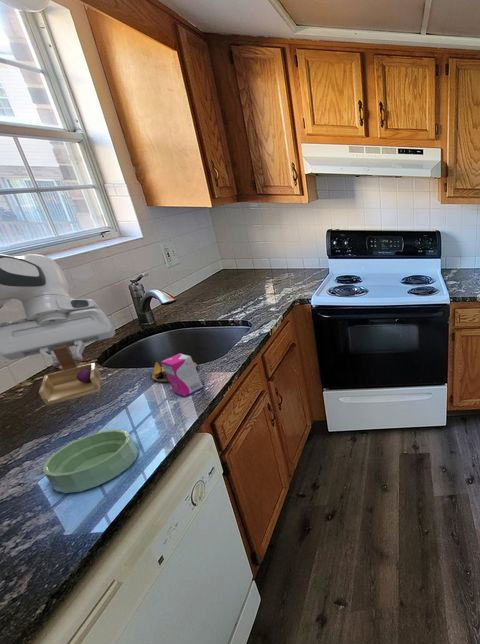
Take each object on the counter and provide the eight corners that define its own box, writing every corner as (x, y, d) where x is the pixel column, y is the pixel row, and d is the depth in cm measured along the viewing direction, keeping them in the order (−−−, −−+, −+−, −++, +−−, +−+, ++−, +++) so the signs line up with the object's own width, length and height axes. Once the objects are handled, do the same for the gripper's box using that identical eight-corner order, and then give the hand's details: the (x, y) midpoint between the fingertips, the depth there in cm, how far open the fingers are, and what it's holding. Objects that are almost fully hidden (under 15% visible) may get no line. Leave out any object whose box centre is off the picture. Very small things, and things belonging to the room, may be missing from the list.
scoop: (53, 383, 89) (34, 351, 86) (101, 371, 95) (85, 340, 91) (46, 406, 81) (25, 371, 77) (100, 390, 86) (82, 357, 82)
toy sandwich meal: (197, 360, 131) (192, 349, 129) (198, 376, 121) (194, 364, 119) (154, 371, 124) (148, 359, 122) (152, 389, 114) (146, 376, 112)
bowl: (44, 505, 75) (30, 486, 72) (67, 461, 86) (56, 443, 84) (132, 477, 81) (122, 458, 79) (143, 439, 92) (134, 422, 90)
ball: (73, 370, 87) (80, 370, 86) (89, 369, 90) (96, 369, 89) (74, 383, 87) (81, 383, 86) (90, 381, 90) (97, 381, 89)
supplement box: (192, 384, 116) (180, 352, 111) (204, 388, 114) (191, 356, 109) (173, 393, 112) (159, 360, 107) (185, 398, 109) (171, 364, 104)
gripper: (-18, 319, 83) (-3, 372, 80) (101, 298, 95) (117, 344, 92) (-2, 331, 88) (12, 381, 85) (108, 310, 100) (123, 353, 97)
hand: (67, 362), depth 89 cm, fingers closed on scoop, 2 cm apart
